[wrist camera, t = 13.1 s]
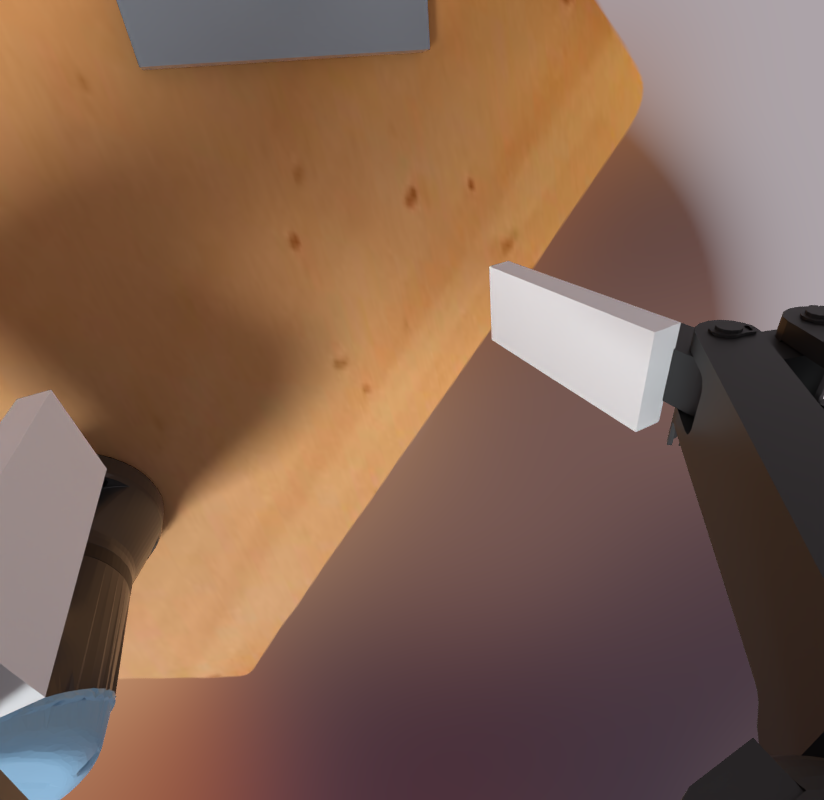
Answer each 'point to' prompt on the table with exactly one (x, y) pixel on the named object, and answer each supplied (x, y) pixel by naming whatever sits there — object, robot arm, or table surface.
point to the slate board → (270, 30)
